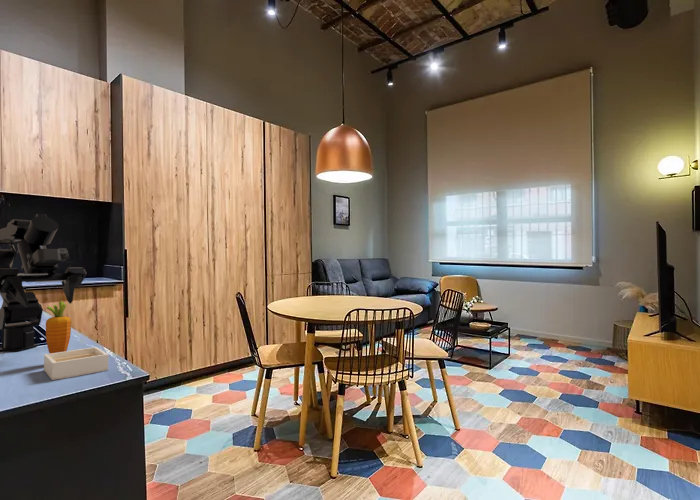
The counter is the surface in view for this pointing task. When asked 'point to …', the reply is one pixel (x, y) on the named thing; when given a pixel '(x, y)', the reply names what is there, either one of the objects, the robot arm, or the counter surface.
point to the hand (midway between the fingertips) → (50, 304)
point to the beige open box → (75, 363)
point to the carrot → (58, 330)
